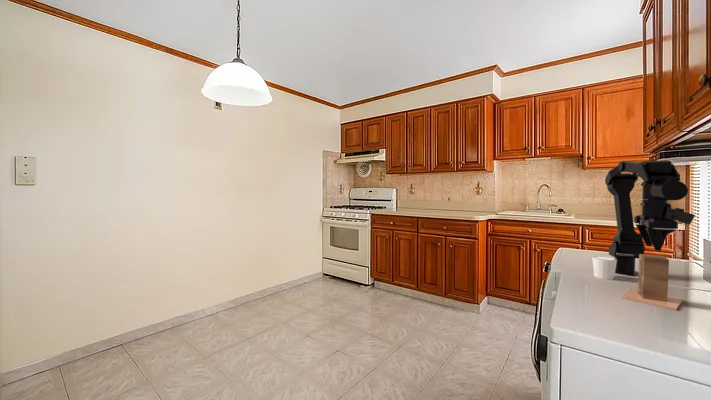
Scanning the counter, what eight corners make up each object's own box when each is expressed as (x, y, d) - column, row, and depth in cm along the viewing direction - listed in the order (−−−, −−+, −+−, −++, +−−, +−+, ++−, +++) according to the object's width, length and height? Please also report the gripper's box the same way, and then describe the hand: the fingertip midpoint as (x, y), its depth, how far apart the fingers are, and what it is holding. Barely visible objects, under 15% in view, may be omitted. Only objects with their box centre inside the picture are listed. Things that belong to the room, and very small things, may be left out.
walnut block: (637, 293, 89) (639, 253, 89) (660, 296, 86) (662, 255, 86) (642, 298, 85) (644, 257, 84) (667, 301, 82) (668, 259, 82)
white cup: (621, 280, 104) (622, 260, 103) (602, 280, 104) (602, 260, 104) (605, 274, 111) (606, 255, 110) (587, 274, 111) (587, 255, 110)
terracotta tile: (631, 290, 93) (631, 288, 93) (682, 300, 84) (682, 298, 84) (621, 297, 87) (621, 295, 87) (676, 310, 78) (676, 308, 78)
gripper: (705, 200, 82) (703, 256, 82) (679, 199, 97) (678, 246, 98) (649, 200, 88) (648, 252, 88) (634, 199, 103) (633, 243, 104)
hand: (653, 248), depth 94 cm, fingers open, 9 cm apart
